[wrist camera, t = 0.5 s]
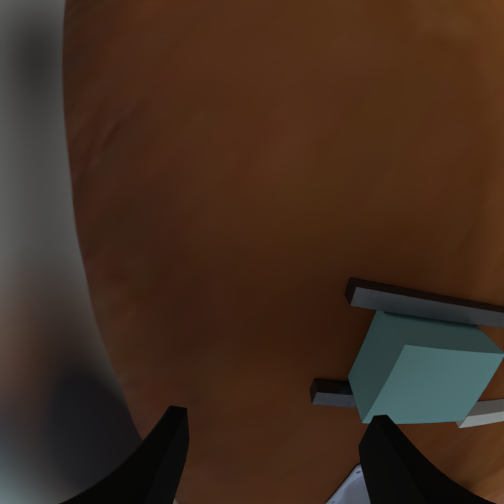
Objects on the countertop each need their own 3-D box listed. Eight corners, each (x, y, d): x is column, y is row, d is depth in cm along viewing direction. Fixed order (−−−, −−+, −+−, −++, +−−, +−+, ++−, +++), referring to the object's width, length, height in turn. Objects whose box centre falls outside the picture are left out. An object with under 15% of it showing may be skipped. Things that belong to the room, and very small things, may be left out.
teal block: (439, 381, 21) (463, 420, 16) (347, 375, 21) (362, 422, 16) (471, 320, 19) (505, 354, 15) (377, 304, 19) (405, 344, 14)
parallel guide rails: (459, 396, 21) (466, 406, 20) (309, 390, 21) (311, 404, 20) (506, 307, 19) (516, 315, 17) (350, 277, 19) (356, 286, 17)
